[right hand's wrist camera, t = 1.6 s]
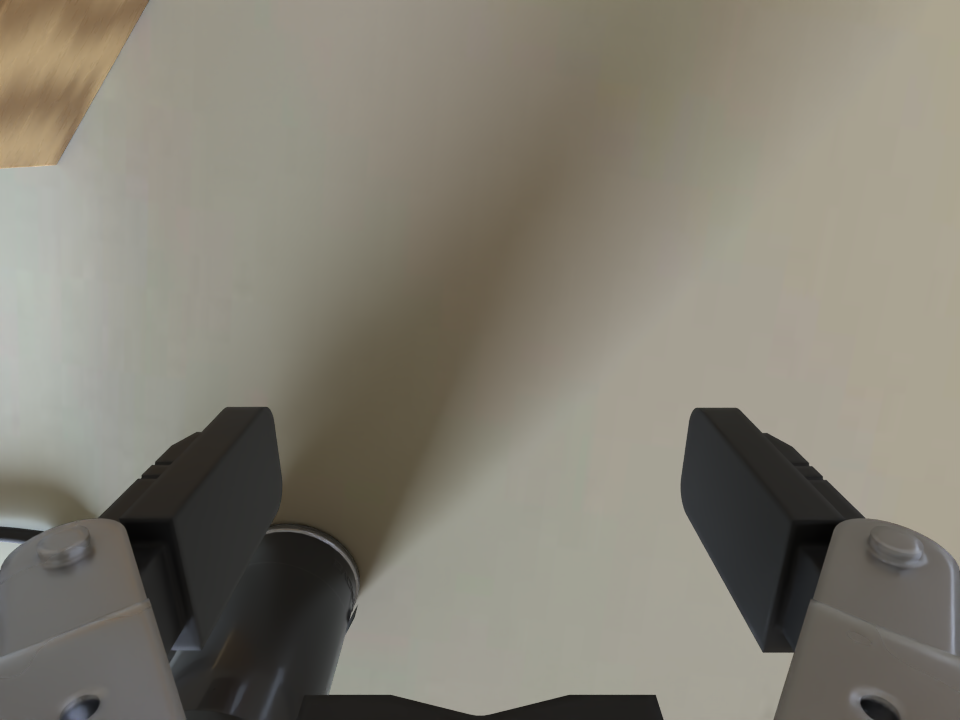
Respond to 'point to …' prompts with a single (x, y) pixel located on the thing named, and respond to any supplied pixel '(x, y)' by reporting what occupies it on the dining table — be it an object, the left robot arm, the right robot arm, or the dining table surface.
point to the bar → (54, 70)
